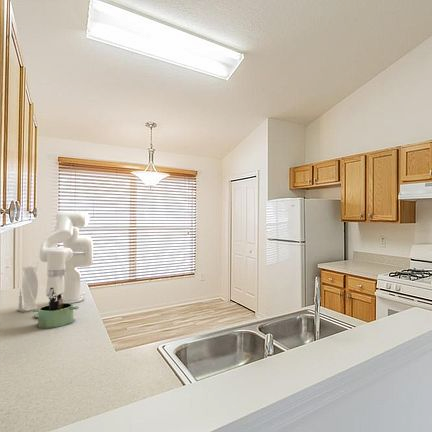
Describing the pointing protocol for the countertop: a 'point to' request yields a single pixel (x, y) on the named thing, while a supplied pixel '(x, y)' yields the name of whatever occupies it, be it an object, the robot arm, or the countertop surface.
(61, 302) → the block
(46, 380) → the countertop surface
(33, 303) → the skyscraper
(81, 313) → the countertop surface
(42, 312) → the pot
